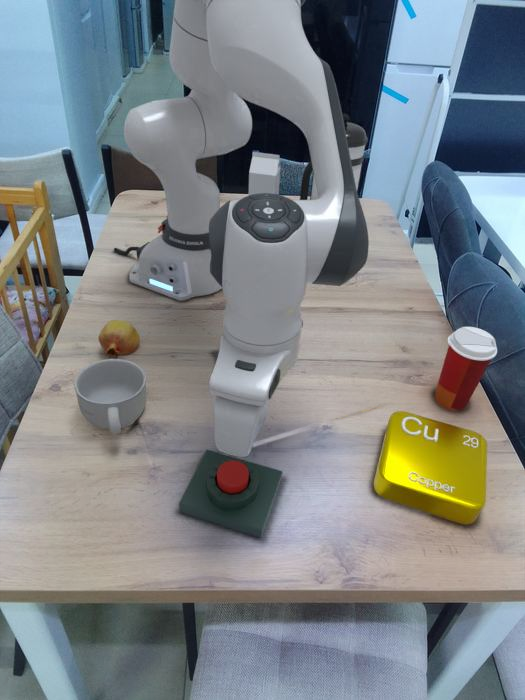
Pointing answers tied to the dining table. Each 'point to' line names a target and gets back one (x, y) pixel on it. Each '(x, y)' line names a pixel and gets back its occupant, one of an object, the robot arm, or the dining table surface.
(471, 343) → the paper cup
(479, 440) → the element tile
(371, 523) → the dining table surface
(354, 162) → the coffee press
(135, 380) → the teacup
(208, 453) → the box
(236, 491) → the button
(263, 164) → the milk carton
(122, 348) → the fruit
